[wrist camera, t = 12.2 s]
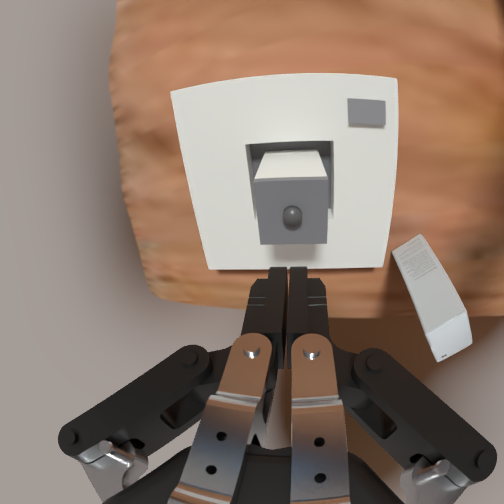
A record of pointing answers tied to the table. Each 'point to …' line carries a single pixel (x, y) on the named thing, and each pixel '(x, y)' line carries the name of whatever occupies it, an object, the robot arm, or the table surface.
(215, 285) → the table surface
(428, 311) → the skincare box
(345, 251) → the socket plate
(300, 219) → the plug
